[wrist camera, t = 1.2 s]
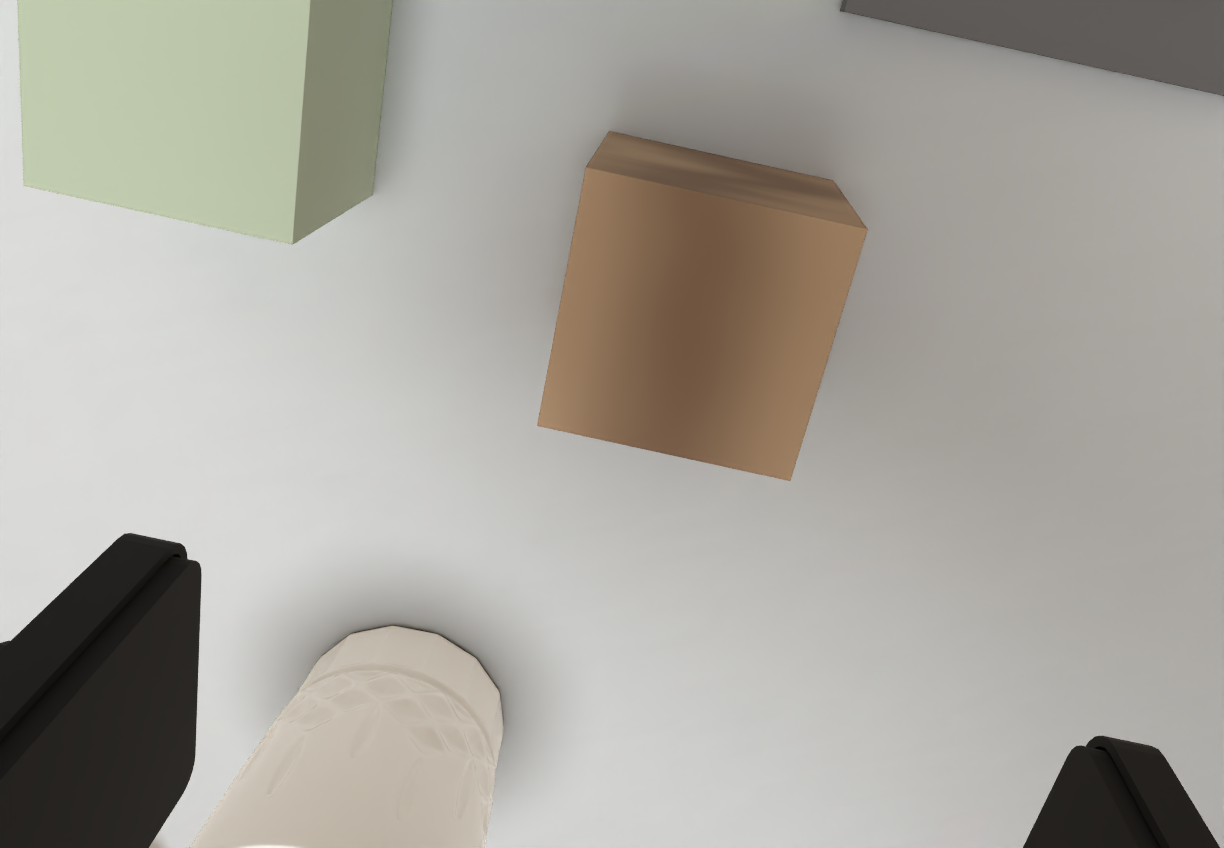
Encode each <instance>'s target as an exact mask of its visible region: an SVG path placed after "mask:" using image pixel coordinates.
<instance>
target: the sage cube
mask: <svg viewBox="0 0 1224 848" xmlns="http://www.w3.org/2000/svg"><path fill="white" fill-rule="evenodd" d="M392 4H393V0H17V5H18V35H19V64H20V93H21V122H22V151H23V180H24V186H27V187H31V188H36V189H40V190H45V191H49V192H54V193H59V194H63V195H68V196H72V197H77V198H81V199H86V200H91V201H95V202H100V203H104V204H109V205H113V206H118V207H122V208H127V209H132V210H136V211H141V212H145V213H150V214H154V215H159V216H164V217H168V218H173V219H177V220H182V221H186V222H191V223H195V224H200V225H205V226H209V227H214V228H218V229H223V230H227V231H232V232H237V233H241V234H246V235H250V236H255V237H259V238H264V239H269V240H273V241H278V242H282V243H287V244H291V245H293V244H294V243H296V242H297V241H299V240H301V239H302V238H304V237H306V236H307V235H309V234H310V233H312V232H314V231H315V230H317V229H318V228H320V227H322V226H323V225H325V224H326V223H328V222H330V221H331V220H333V219H335V218H336V217H338V216H339V215H341V214H343V213H344V212H346V211H347V210H349V209H351V208H352V207H354V206H355V205H357V204H359V203H360V202H362V201H364V200H365V199H367V198H368V197H370V196H372V195H373V185H374V176H375V166H376V157H377V147H378V138H379V128H380V119H381V109H382V100H383V90H384V81H385V71H386V62H387V52H388V42H389V33H390V23H391V14H392Z"/></svg>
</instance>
